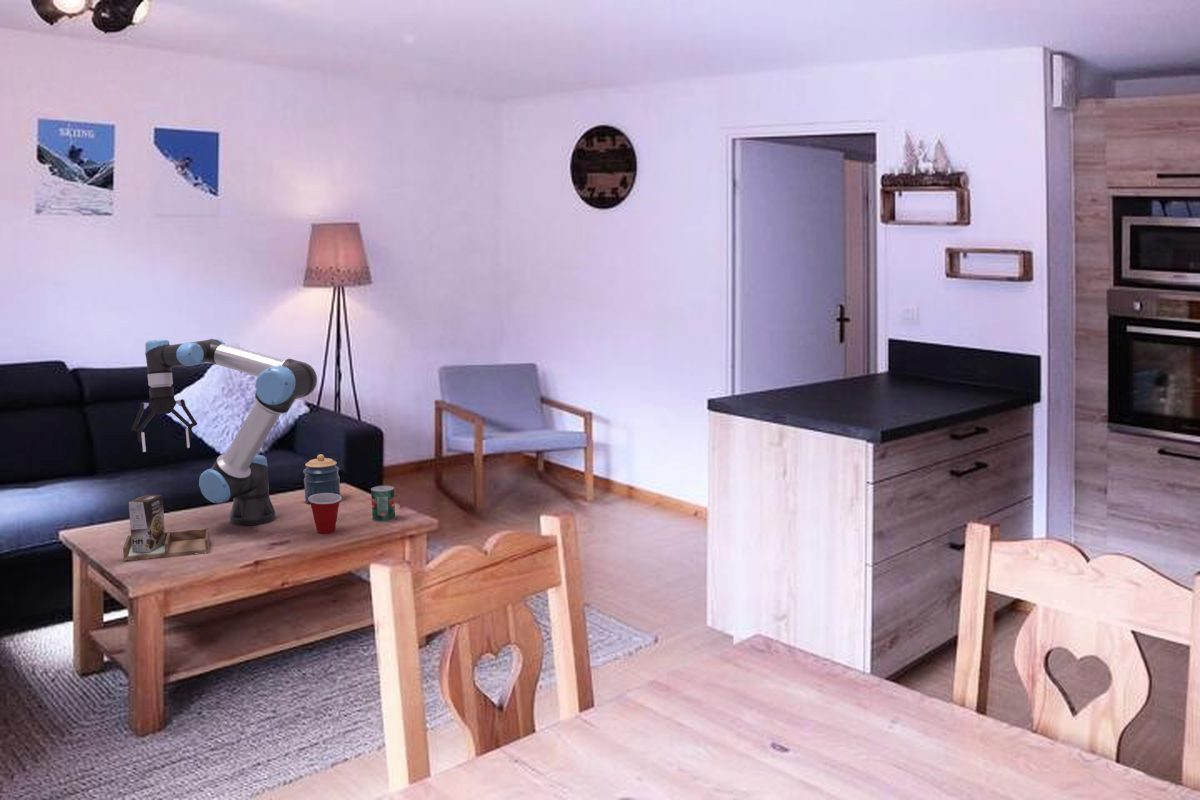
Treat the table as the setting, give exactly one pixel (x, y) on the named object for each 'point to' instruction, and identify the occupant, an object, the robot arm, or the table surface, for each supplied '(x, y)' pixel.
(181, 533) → the tray
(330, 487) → the canister
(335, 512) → the plastic cup
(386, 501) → the canned tomato
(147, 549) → the coffee box
